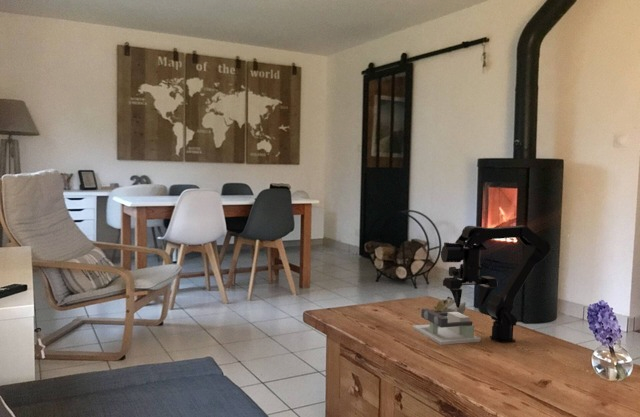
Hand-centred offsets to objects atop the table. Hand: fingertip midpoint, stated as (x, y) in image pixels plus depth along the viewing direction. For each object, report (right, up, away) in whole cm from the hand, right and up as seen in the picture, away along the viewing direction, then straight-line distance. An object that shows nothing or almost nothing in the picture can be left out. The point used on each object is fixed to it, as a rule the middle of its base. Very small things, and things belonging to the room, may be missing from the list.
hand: (469, 306), depth 189 cm
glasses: (-7, -6, +7) cm, 11 cm away
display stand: (-7, -11, +7) cm, 15 cm away
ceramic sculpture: (0, -10, +32) cm, 33 cm away
